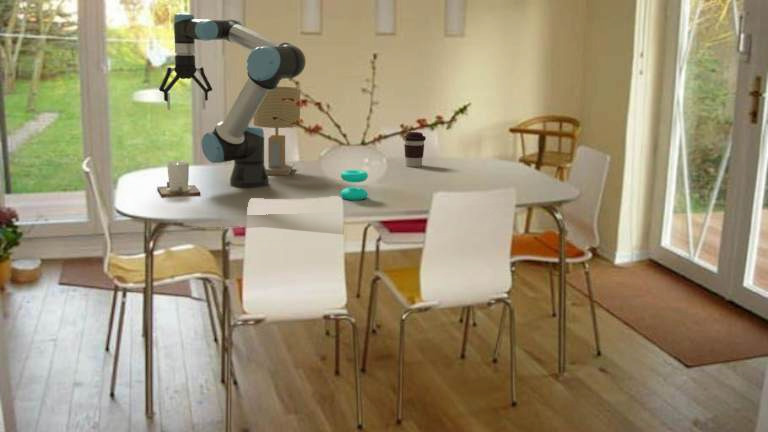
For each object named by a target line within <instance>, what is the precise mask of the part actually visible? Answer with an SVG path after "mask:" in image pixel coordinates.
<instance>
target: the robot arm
mask: <svg viewBox="0 0 768 432" xmlns="http://www.w3.org/2000/svg"><path fill="white" fill-rule="evenodd" d="M173 18H174V19H173V31H174V54H175V56H174V60H175V61H174V64H175V66H174V67H170V66H168V67H166V74H165V75H164V77H163V79H162V82H161V84H160V85H159V86H160V87H159V88H158V90H159V91H160V92H162V93H163V100H164V102H166V110H167V111H171V95H170V94H171V93H170V92H169V91H170V90H171V89H172V87H173V86H174V85H175V84H176V83H177V82H178V80H179V79H181V80H185V79H188V80H189V79H192V80H193V81H194V82H195V83H196V84H197V86H199V88H200V89H201V90H202V92H201V108H202V110H206V101H208V99H209V96H208V94H209V92H212V91H213V88H212V85H211V84H210V82H209V81H210V80H208V78H207V76H206V74H205V70H204V67H203V66H199V67H197V66H196V57H195V56H196V55H195V53H196V51H195V50H196V48H195V40H197V41H205V42H206V41H219V40H220V41H221V40H222V41H228V42H230V43H232V44H235V45H236V46H238V47H241V48H243V49H245V50H247V51H249V52H250V53H249V55H248V58H247V60H246V63H247V65H246V71H247V76H248V78H247V80H246V82H245V83H244V85H243V87H242V89H241V91H240V92H239V94H238V95H237V98H236V99H235V101H234V102H233V104H232V106H231V108H230V110H229V111H228V112H227V115H226V116H225V118H224V120H223V121H220V122H217V124H216V126H214V129H213V131H209V132H207V133H205V134H203V136H202V138H201V142H200V143H201V150H202V153H203V155H204V157H205V159H206V160H208V161H209V162H210V163H212V164H217V163H218V164H221V163H226V162H232V161H233V163H234V165H233V169H232V171H231V175H230V178H229V185H230V186H233V187H239V188H260V187H265V186H268V185H269V184H270V182H269V181H270V180H269V174H267V172H266V169H265V166H264V163H265V133H264V129H263V127H259V126H251V125H250V123H251V122H252V120H253V119H254V115H255V113H256V112H257V110H258V108H259V107H260V105H261V103H262V102H263V100H264V98H265V97H266V95H267V93H268V92H269V90H273V89H275V88H276V87H278V85H279V84H280V82H281V80H285V79H293V78H296V77H298V76H300V74H302V72H303V71H304V69H305V67H306V57H305V54H304V52H303V51H302V50H301V49H300V48H299V47H298V46H295V45H293V44H292V43H289V42H285V41H284V42H280V41H277V40H275V39H273V38H271V37H268V36H265V35H264V34H262V33H258V32H256V31H254V30H252V29H250V28H248V27H245V26H243V24H242V23H241V21H240V20H237V19H233V18H232V19H231V18H230V19H195V16H194V14H193V13H176V14H174V17H173ZM173 72H174V73H176V74H175V75H174V77H173V79H171V81H170V82H169V83H168V81H169V78H170V77H171V74H173ZM196 73H198V74H200V76H201V78H202V80H203V82H204V84H205V85H204V84H203V83H202V81H200V80H199V79H198V78H197V76H196V75H195V74H196ZM167 83H168V85H167Z"/></svg>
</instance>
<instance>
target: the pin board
mask: <svg viewBox="0 0 768 432" xmlns="http://www.w3.org/2000/svg"><path fill="white" fill-rule="evenodd" d="M156 190H157V191H158V193H159V195H160V197H161V198H175V197H196V196H201V191H200V190H199V188H198V187H197V186H196V185H194V184H188V189H187V190H183V187H179V190H178V191H177V190H170V188H169V181H167V182H166V186H157V189H156Z"/></svg>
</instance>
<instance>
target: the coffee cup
mask: <svg viewBox="0 0 768 432" xmlns="http://www.w3.org/2000/svg"><path fill="white" fill-rule="evenodd" d="M404 136H405V137H406V140H404V144H403V145H404V157H405V166H406V167H409V168H419V167H422V165H423V158H424V151H425V141H426V136H425V135H423V132H420V131H408V132H407V133H406V135H404Z"/></svg>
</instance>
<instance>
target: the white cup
mask: <svg viewBox="0 0 768 432" xmlns="http://www.w3.org/2000/svg"><path fill="white" fill-rule="evenodd" d="M189 169H190V162H189V161H185V160H171V161H167V176H168V182H169V188H170V190H177V191H178V190H179V187H183V190H187V189H188V185H189V180H190V178H189V175H190V173H189V171H190V170H189Z"/></svg>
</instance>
